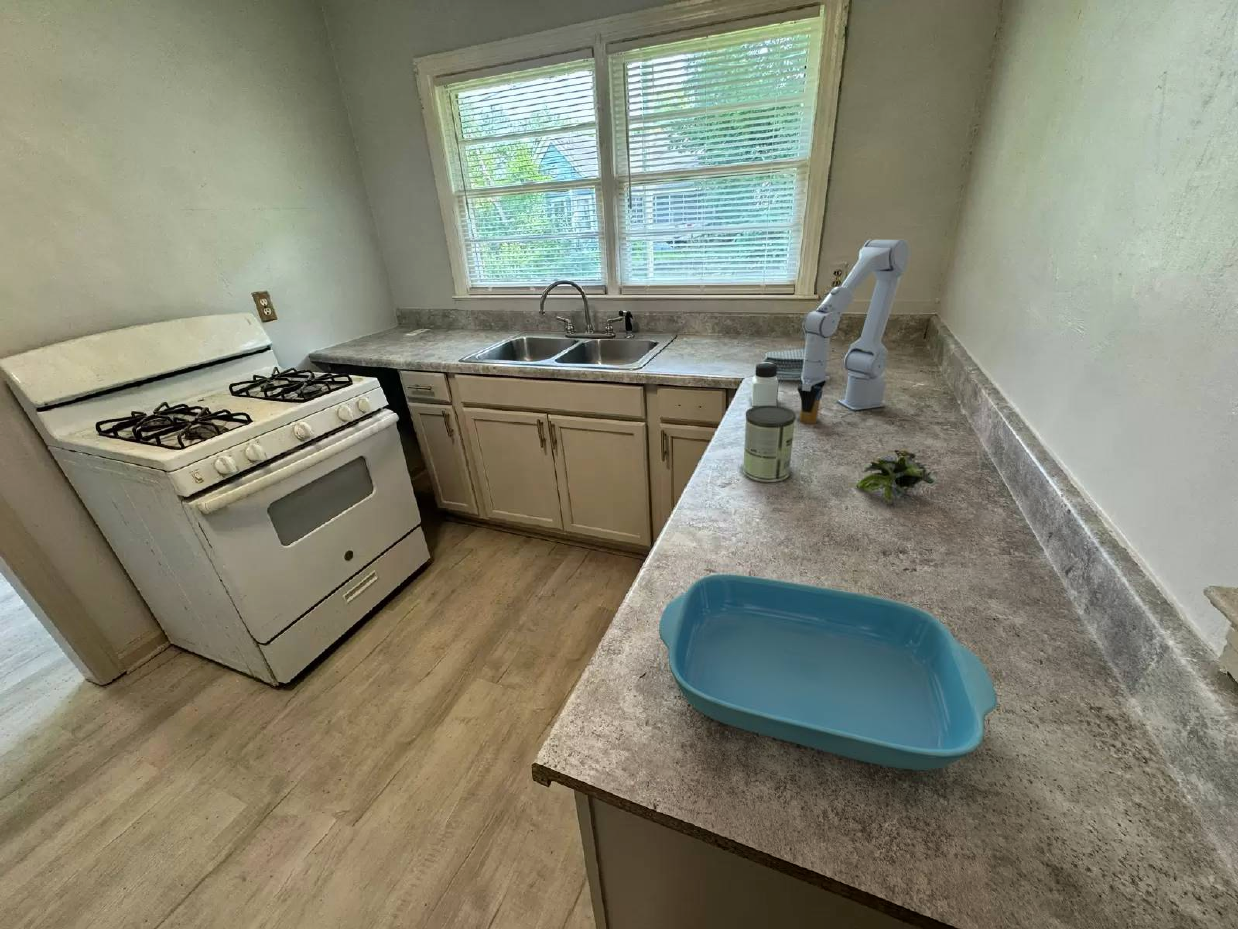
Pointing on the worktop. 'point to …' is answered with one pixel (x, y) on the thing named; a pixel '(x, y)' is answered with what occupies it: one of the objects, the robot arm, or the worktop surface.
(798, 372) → the towel
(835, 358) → the worktop surface
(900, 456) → the green leafy plant
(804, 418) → the honey jar
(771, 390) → the medicine bottle
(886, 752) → the casserole dish
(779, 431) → the coffee can
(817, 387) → the jar lid
